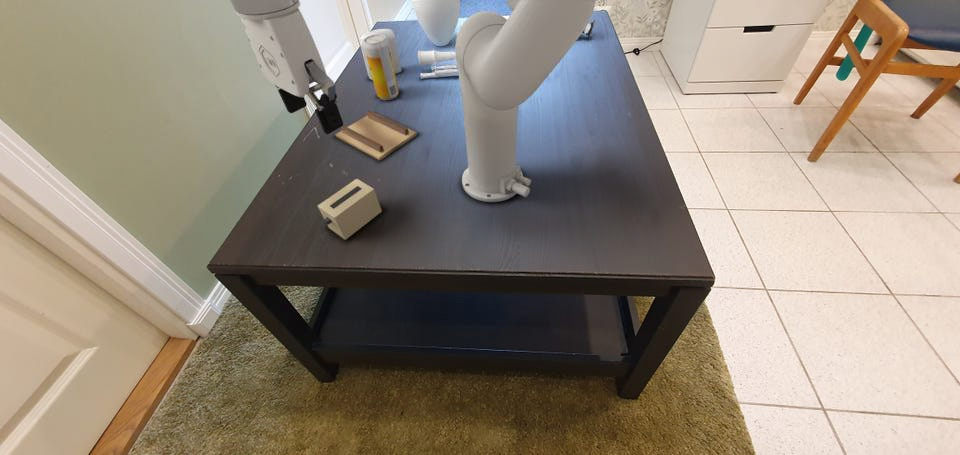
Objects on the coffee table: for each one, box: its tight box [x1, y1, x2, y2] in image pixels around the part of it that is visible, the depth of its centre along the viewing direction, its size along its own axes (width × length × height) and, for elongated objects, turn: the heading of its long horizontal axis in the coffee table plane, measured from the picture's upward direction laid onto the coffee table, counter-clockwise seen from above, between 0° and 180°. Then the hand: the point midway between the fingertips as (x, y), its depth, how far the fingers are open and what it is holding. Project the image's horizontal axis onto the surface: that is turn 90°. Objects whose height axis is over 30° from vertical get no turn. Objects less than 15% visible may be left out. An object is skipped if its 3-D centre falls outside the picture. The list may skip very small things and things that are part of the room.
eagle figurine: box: [582, 19, 596, 40], centre depth 120 cm, size 8×7×9 cm
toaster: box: [317, 178, 383, 241], centre depth 69 cm, size 5×10×6 cm, turn 142°
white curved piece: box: [359, 28, 402, 81], centre depth 107 cm, size 10×4×12 cm, turn 123°
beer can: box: [364, 35, 400, 101], centre depth 97 cm, size 6×6×15 cm
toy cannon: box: [417, 49, 459, 80], centre depth 108 cm, size 8×14×5 cm
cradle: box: [334, 110, 418, 161], centre depth 89 cm, size 12×16×2 cm
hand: (315, 119), depth 58 cm, fingers open, 9 cm apart
